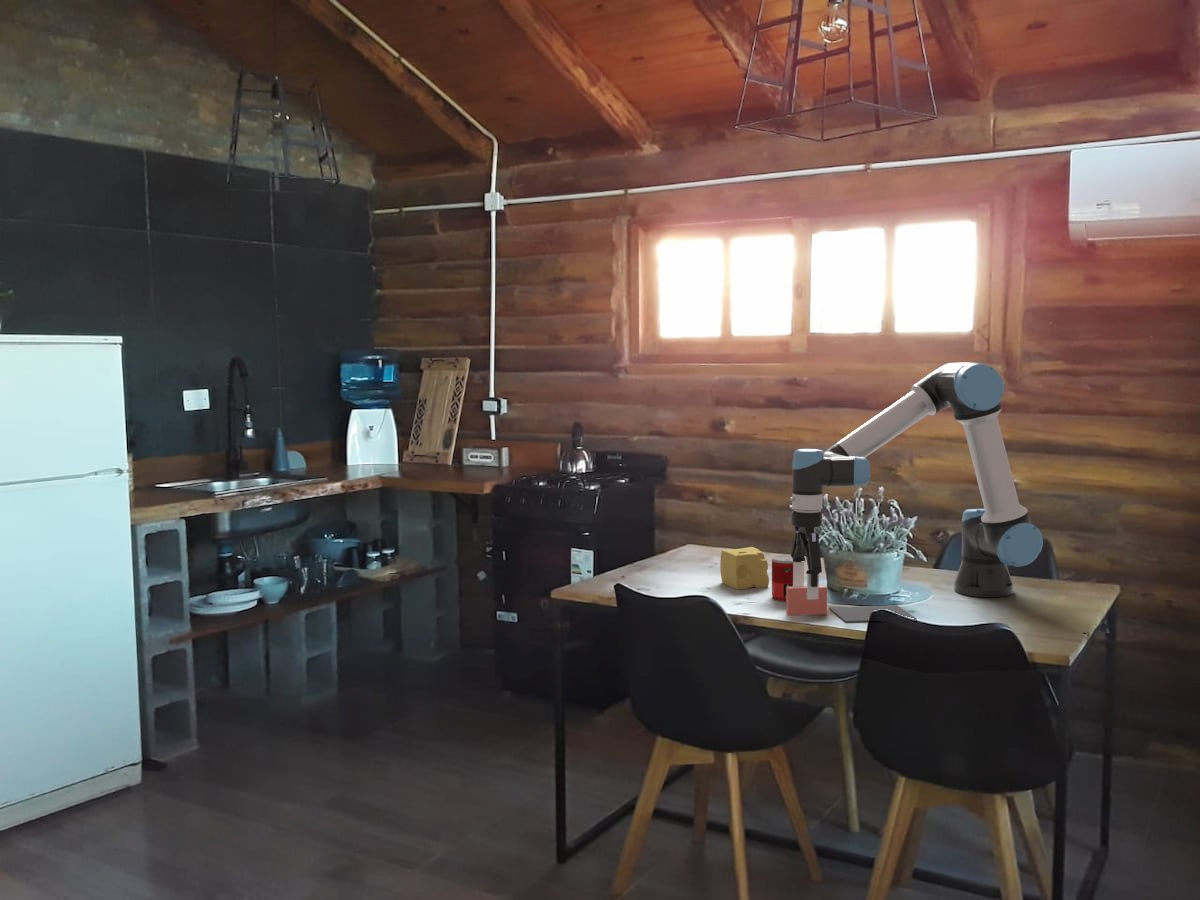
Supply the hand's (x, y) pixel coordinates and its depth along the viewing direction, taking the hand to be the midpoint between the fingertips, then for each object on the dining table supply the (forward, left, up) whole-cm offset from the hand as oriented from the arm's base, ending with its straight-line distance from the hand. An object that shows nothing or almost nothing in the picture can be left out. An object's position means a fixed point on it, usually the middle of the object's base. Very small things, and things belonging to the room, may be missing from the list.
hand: (805, 592), depth 268 cm
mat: (-16, +3, -5) cm, 17 cm away
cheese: (+9, -34, -6) cm, 36 cm away
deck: (0, 0, -6) cm, 6 cm away
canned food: (+1, -17, -6) cm, 18 cm away
